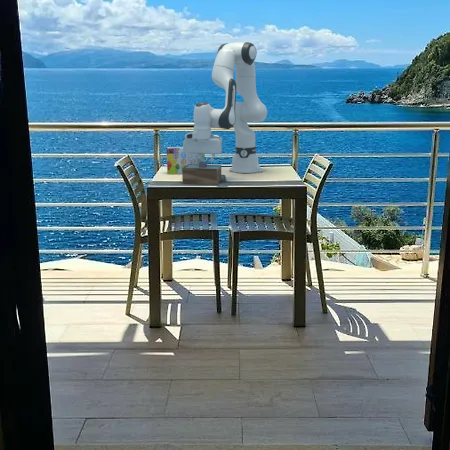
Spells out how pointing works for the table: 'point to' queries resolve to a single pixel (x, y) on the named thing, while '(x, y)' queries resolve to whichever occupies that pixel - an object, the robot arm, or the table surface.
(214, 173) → the walnut box
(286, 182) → the table surface
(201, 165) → the lid
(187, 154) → the snack box
